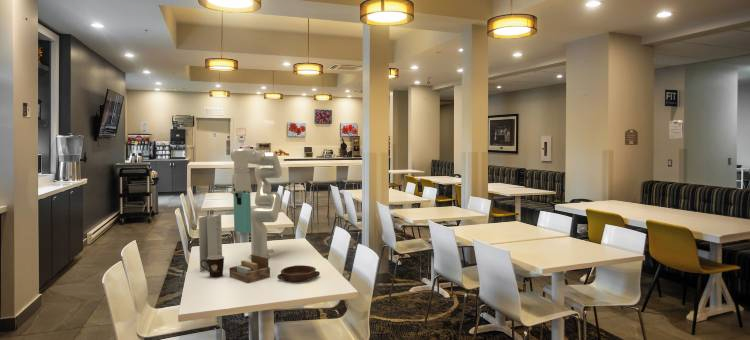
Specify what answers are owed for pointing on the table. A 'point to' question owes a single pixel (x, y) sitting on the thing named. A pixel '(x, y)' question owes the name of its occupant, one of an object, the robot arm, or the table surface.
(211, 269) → the coffee mug
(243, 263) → the offcut oak
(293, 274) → the dish
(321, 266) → the table surface
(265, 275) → the rack
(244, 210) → the tall sheet
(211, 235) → the tall grey panel
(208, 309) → the table surface
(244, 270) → the offcut grey
